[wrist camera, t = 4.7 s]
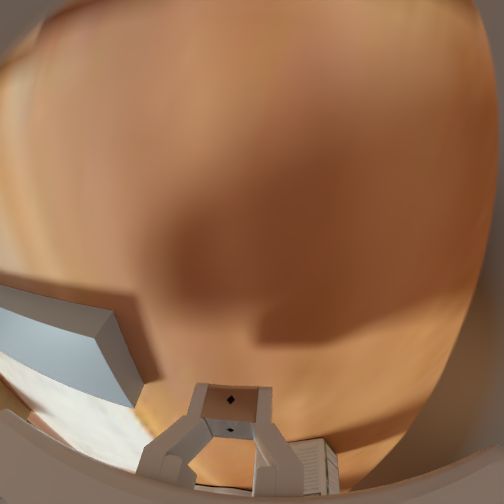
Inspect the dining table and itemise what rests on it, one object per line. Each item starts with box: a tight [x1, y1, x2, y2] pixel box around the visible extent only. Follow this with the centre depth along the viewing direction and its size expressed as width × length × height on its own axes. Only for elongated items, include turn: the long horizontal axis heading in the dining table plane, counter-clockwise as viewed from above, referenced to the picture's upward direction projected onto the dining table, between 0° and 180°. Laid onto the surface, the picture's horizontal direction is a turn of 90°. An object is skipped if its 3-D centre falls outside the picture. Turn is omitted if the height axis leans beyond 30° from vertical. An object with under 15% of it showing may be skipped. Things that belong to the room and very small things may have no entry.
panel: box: [0, 284, 144, 409], centre depth 13 cm, size 20×6×2 cm, turn 89°
